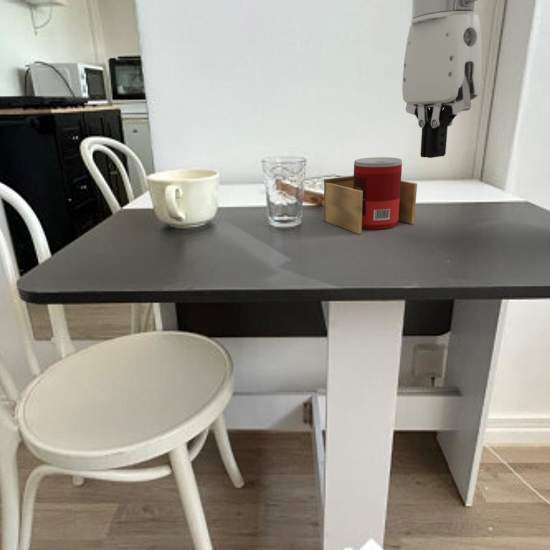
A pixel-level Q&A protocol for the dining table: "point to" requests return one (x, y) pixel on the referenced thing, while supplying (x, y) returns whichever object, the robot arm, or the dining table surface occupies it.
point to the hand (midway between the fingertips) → (432, 156)
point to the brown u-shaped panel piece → (360, 203)
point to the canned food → (379, 190)
